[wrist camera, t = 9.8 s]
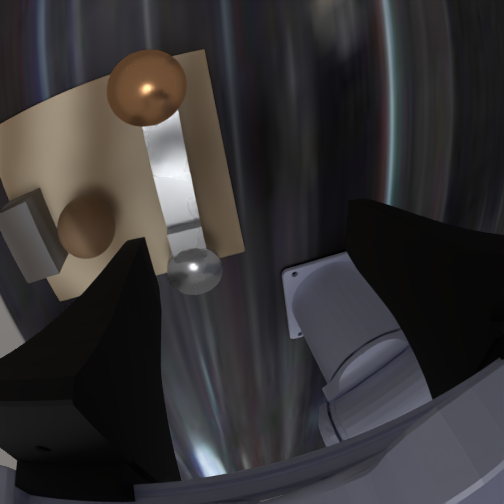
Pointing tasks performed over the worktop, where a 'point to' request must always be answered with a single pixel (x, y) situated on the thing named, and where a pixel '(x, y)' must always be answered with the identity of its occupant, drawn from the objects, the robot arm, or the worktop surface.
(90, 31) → the worktop surface
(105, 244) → the brown ball
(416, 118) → the worktop surface
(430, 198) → the worktop surface
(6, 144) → the beige square panel
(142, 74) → the lever
